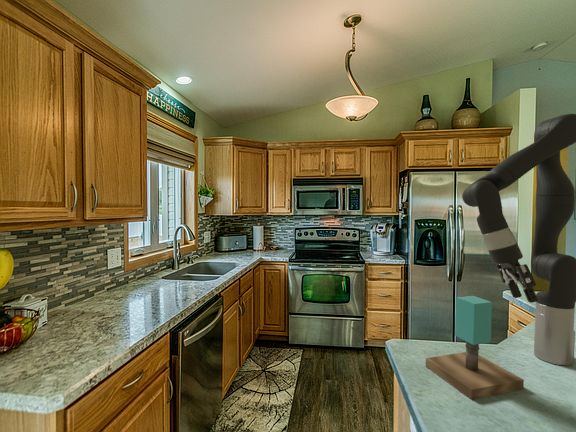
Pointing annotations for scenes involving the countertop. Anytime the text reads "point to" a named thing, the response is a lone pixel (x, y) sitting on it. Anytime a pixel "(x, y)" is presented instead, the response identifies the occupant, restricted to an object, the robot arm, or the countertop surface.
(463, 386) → the post stand
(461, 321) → the tall teal pillar
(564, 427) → the countertop surface
